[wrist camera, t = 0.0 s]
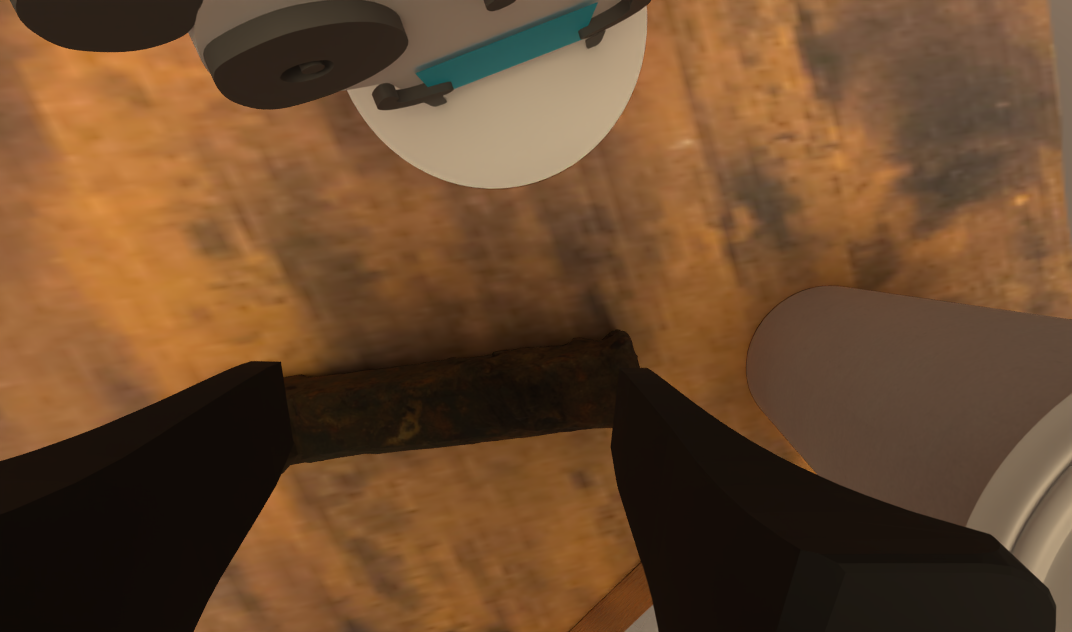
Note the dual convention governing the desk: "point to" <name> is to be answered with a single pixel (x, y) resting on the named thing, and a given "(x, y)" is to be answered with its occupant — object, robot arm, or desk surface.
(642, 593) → the housing block
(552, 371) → the hand tool
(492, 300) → the desk surface
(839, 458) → the coffee cup
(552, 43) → the panda figurine
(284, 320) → the desk surface
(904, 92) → the desk surface
